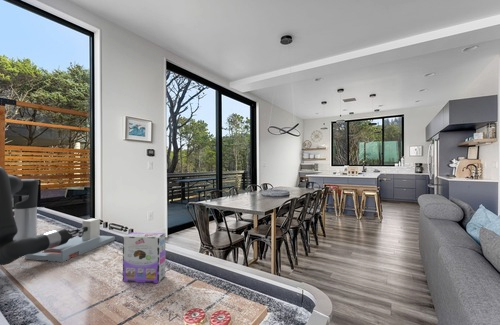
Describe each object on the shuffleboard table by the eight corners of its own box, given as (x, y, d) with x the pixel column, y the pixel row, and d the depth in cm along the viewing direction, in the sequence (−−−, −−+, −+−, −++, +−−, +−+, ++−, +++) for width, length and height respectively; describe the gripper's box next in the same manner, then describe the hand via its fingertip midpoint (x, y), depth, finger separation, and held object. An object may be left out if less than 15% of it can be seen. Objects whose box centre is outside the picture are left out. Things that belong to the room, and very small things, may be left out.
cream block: (90, 240, 123) (90, 221, 123) (82, 239, 124) (82, 220, 124) (99, 237, 129) (99, 218, 129) (91, 236, 130) (91, 218, 130)
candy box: (165, 276, 89) (166, 232, 89) (158, 284, 83) (158, 237, 83) (131, 274, 90) (132, 231, 90) (121, 281, 84) (122, 235, 84)
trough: (62, 262, 100) (62, 250, 100) (25, 258, 104) (25, 247, 104) (114, 240, 130) (114, 231, 130) (84, 237, 133) (84, 229, 133)
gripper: (65, 231, 105) (97, 222, 122) (41, 229, 107) (75, 220, 125) (65, 248, 105) (97, 236, 122) (41, 246, 107) (75, 235, 124)
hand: (86, 228), depth 123 cm, fingers closed
